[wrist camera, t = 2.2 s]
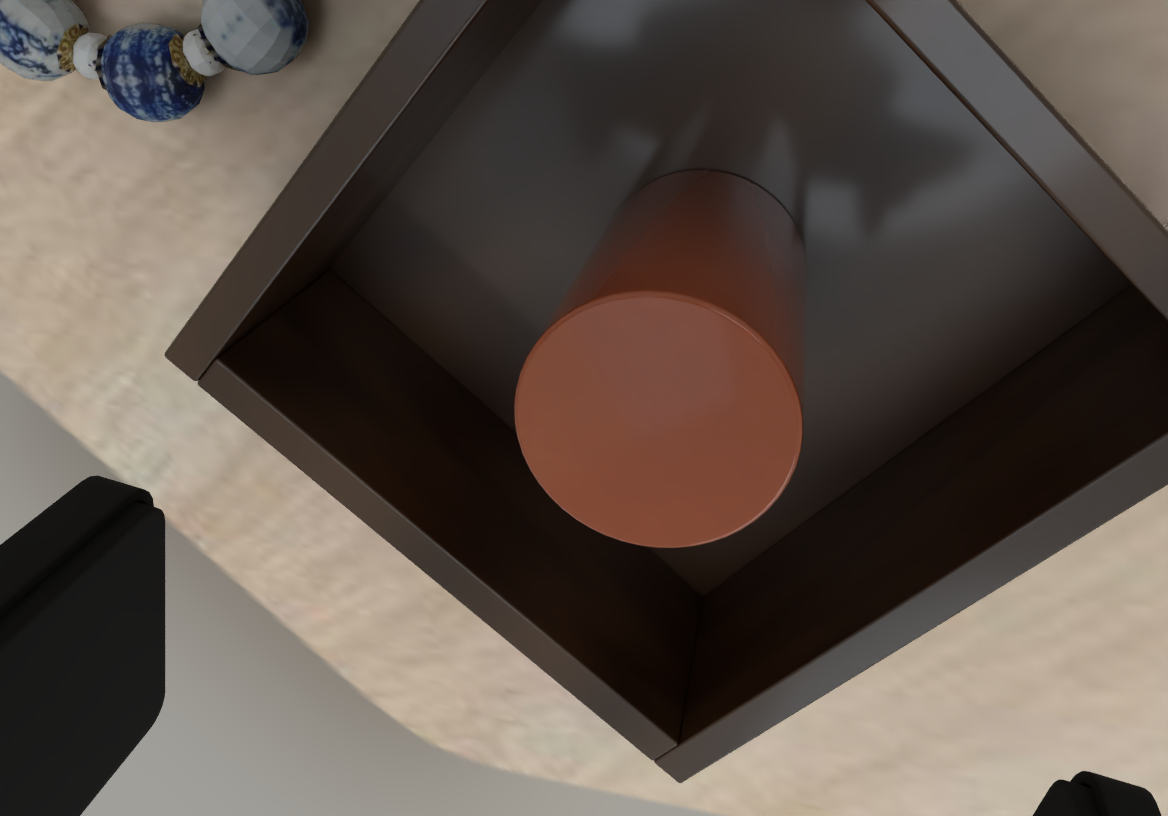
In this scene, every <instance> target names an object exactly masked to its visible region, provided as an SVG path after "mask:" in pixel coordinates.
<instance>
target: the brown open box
mask: <svg viewBox="0 0 1168 816" xmlns="http://www.w3.org/2000/svg"><path fill="white" fill-rule="evenodd" d="M693 170H709V171H718V172H723V173H728V174H731V175H735V176H738V177H741V178H743V179H745V180H747V181H749V182H751V183H754V184H755V185H757V186H758V187H760V188H762V189H763V190H765V191H766V192H767V193H769V194H770V195H771V196H772V197H773V198H774V199H776V200H777V201H778V202H779V203H780V205H781V206H782V207H783V208H784V209H785V210H786V211H787V213H788V214H789V216H790V217H791V219H792V220H793V222H794V223H795V225H796V227H797V229H798V231H799V234H800V236H801V239H802V242H803V245H804V248H805V253H806V259H807V309H806V348H805V386H804V424H803V439H802V448H801V453H800V456H799V460H798V463H797V467H796V469H795V471H794V473H793V475H792V478H791V480H790V482H789V483H788V485H787V487H786V488H785V490H784V491H783V493H782V494H781V496H780V497H779V498H778V499H777V500H776V501H775V503H774V504H773V505H772V506H771V507H770V508H769V509H768V510H767V511H766V512H765V513H763V514H762V515H761V516H760V517H759V518H758V519H757V520H755V521H754V522H752V523H751V524H749V525H748V526H746V527H745V528H743V529H742V530H740V531H737V532H735V533H733V534H731V535H729V536H727V537H725V538H722V539H719V540H716V541H713V542H710V543H706V544H701V545H696V546H690V547H679V548H657V547H649V546H641V545H636V544H632V543H628V542H623V541H620V540H617V539H615V538H612V537H609V536H606V535H604V534H602V533H600V532H598V531H596V530H593V529H591V528H590V527H588V526H586V525H585V524H583V523H581V522H580V521H578V520H576V519H575V518H574V517H572V516H571V515H570V514H569V513H567V512H566V511H565V510H563V509H562V508H561V507H560V506H559V505H558V504H557V503H556V502H555V501H554V500H553V499H552V498H551V497H550V496H549V495H548V494H547V493H546V491H545V490H544V489H543V488H542V486H541V485H540V484H539V483H538V481H537V479H536V478H535V476H534V475H533V473H532V472H531V470H530V468H529V466H528V464H527V462H526V460H525V457H524V455H523V453H522V450H521V447H520V443H519V440H518V437H517V432H516V426H515V419H514V400H515V391H516V385H517V381H518V378H519V374H520V371H521V368H522V366H523V364H524V362H525V359H526V357H527V355H528V354H529V352H530V350H531V349H532V347H533V345H534V344H535V342H536V341H537V339H538V337H539V336H540V334H541V332H542V331H543V329H544V328H545V326H546V324H547V323H548V321H549V320H550V318H551V316H552V315H553V313H554V311H555V310H556V308H557V307H558V305H559V303H560V302H561V300H562V298H563V297H564V295H565V294H566V292H567V290H568V289H569V287H570V286H571V284H572V282H573V281H574V279H575V277H576V276H577V274H578V273H579V271H580V269H581V268H582V266H583V264H584V263H585V261H586V260H587V258H588V256H589V255H590V253H591V252H592V250H593V248H594V247H595V245H596V243H597V242H598V240H599V239H600V237H601V235H602V234H603V232H604V230H605V229H606V227H607V226H608V224H609V222H610V221H611V219H612V218H613V216H614V214H615V213H616V211H617V210H618V209H619V208H620V207H621V205H622V204H623V203H624V202H625V201H626V200H627V199H628V198H629V197H630V196H631V195H633V194H634V193H635V192H636V191H638V190H639V189H641V188H642V187H643V186H645V185H647V184H649V183H651V182H652V181H654V180H656V179H658V178H661V177H664V176H667V175H670V174H674V173H678V172H683V171H693ZM165 357H166V358H167V359H168V360H169V361H171V362H172V363H173V364H174V365H175V366H177V367H178V368H179V369H180V370H182V371H183V372H184V373H185V374H186V375H188V376H189V377H190V378H191V379H192V380H194V381H198V380H199V381H198V385H199V386H200V387H201V388H202V389H204V390H205V391H206V392H207V393H208V394H210V395H211V396H212V397H213V398H215V399H216V400H217V401H218V402H219V403H221V404H222V405H223V406H224V407H225V408H227V409H228V410H229V411H230V412H231V413H233V414H234V415H235V416H236V417H237V418H239V419H240V420H241V421H242V422H244V423H245V424H246V425H247V426H248V427H250V428H251V429H252V430H253V431H254V432H256V433H257V434H258V435H259V436H260V437H262V438H263V439H264V440H265V441H266V442H268V443H269V444H270V445H271V446H273V447H274V448H275V449H276V450H277V451H279V452H280V453H281V454H282V455H283V456H285V457H286V458H287V459H288V460H289V461H291V462H292V463H293V464H294V465H296V466H297V467H298V468H299V469H300V470H302V471H303V472H304V473H305V474H306V475H308V476H309V477H310V478H311V479H312V480H314V481H315V482H316V483H317V484H318V485H320V486H321V487H322V488H323V489H325V490H326V491H327V492H328V493H329V494H331V495H332V496H333V497H334V498H335V499H337V500H338V501H339V502H340V503H341V504H343V505H344V506H345V507H346V508H347V509H349V510H350V511H351V512H352V513H354V514H355V515H356V516H357V517H358V518H360V519H361V520H362V521H363V522H364V523H366V524H367V525H368V526H369V527H370V528H372V529H373V530H374V531H375V532H376V533H378V534H379V535H380V536H381V537H383V538H384V539H385V540H386V541H387V542H389V543H390V544H391V545H392V546H393V547H395V548H396V549H397V550H398V551H399V552H401V553H402V554H403V555H404V556H406V557H407V558H408V559H409V560H410V561H412V562H413V563H414V564H415V565H416V566H418V567H419V568H420V569H421V570H422V571H424V572H425V573H426V574H427V575H428V576H430V577H431V578H432V579H433V580H435V581H436V582H437V583H438V584H439V585H441V586H442V587H443V588H444V589H445V590H447V591H448V592H449V593H450V594H451V595H453V596H454V597H455V598H456V599H457V600H459V601H460V602H461V603H462V604H464V605H465V606H466V607H467V608H468V609H470V610H471V611H472V612H473V613H474V614H476V615H477V616H478V617H479V618H480V619H482V620H483V621H484V622H485V623H486V624H488V625H489V626H490V627H491V628H493V629H494V630H495V631H496V632H497V633H499V634H500V635H501V636H502V637H503V638H505V639H506V640H507V641H508V642H509V643H511V644H512V645H513V646H514V647H516V648H517V649H518V650H519V651H520V652H522V653H523V654H524V655H525V656H526V657H528V658H529V659H530V660H531V661H532V662H534V663H535V664H536V665H537V666H538V667H540V668H541V669H542V670H543V671H545V672H546V673H547V674H548V675H549V676H551V677H552V678H553V679H554V680H555V681H557V682H558V683H559V684H560V685H561V686H563V687H564V688H565V689H566V690H567V691H569V692H570V693H571V694H572V695H574V696H575V697H576V698H577V699H578V700H580V701H581V702H582V703H583V704H584V705H586V706H587V707H588V708H589V709H590V710H592V711H593V712H594V713H595V714H596V715H598V716H599V717H600V718H601V719H603V720H604V721H605V722H606V723H607V724H609V725H610V726H611V727H612V728H613V729H615V730H616V731H617V732H618V733H619V734H621V735H622V736H623V737H624V738H625V739H627V740H628V741H629V742H630V743H632V744H633V745H634V746H635V747H636V748H638V749H639V750H640V751H641V752H642V753H644V754H645V755H646V756H647V757H648V758H650V759H651V760H654V762H655V763H656V764H657V765H658V766H659V767H660V768H662V769H663V770H664V771H665V772H666V773H668V774H669V775H670V776H671V777H673V778H674V779H675V780H676V781H677V782H679V783H682V782H683V781H685V780H687V779H688V778H690V777H692V776H693V775H695V774H696V773H698V772H700V771H701V770H703V769H705V768H706V767H708V766H709V765H711V764H713V763H714V762H716V761H718V760H719V759H721V758H723V757H724V756H726V755H727V754H729V753H731V752H732V751H734V750H736V749H737V748H739V747H740V746H742V745H744V744H745V743H747V742H749V741H750V740H752V739H753V738H755V737H757V736H758V735H760V734H762V733H763V732H765V731H767V730H768V729H770V728H771V727H773V726H775V725H776V724H778V723H780V722H781V721H783V720H784V719H786V718H788V717H789V716H791V715H793V714H794V713H796V712H798V711H799V710H801V709H802V708H804V707H806V706H807V705H809V704H811V703H812V702H814V701H815V700H817V699H819V698H820V697H822V696H824V695H825V694H827V693H829V692H830V691H832V690H833V689H835V688H837V687H838V686H840V685H842V684H843V683H845V682H846V681H848V680H850V679H851V678H853V677H855V676H856V675H858V674H859V673H861V672H863V671H864V670H866V669H868V668H869V667H871V666H873V665H874V664H876V663H877V662H879V661H881V660H882V659H884V658H886V657H887V656H889V655H890V654H892V653H894V652H895V651H897V650H899V649H900V648H902V647H904V646H905V645H907V644H908V643H910V642H912V641H913V640H915V639H917V638H918V637H920V636H921V635H923V634H925V633H926V632H928V631H930V630H931V629H933V628H934V627H936V626H938V625H939V624H941V623H943V622H944V621H946V620H948V619H949V618H951V617H952V616H954V615H956V614H957V613H959V612H961V611H962V610H964V609H965V608H967V607H969V606H970V605H972V604H974V603H975V602H977V601H979V600H980V599H982V598H983V597H985V596H987V595H988V594H990V593H992V592H993V591H995V590H996V589H998V588H1000V587H1001V586H1003V585H1005V584H1006V583H1008V582H1010V581H1011V580H1013V579H1014V578H1016V577H1018V576H1019V575H1021V574H1023V573H1024V572H1026V571H1027V570H1029V569H1031V568H1032V567H1034V566H1036V565H1037V564H1039V563H1040V562H1042V561H1044V560H1045V559H1047V558H1049V557H1050V556H1052V555H1054V554H1055V553H1057V552H1058V551H1060V550H1062V549H1063V548H1065V547H1067V546H1068V545H1070V544H1071V543H1073V542H1075V541H1076V540H1078V539H1080V538H1081V537H1083V536H1085V535H1086V534H1088V533H1089V532H1091V531H1093V530H1094V529H1096V528H1098V527H1099V526H1101V525H1102V524H1104V523H1106V522H1107V521H1109V520H1111V519H1112V518H1114V517H1115V516H1117V515H1119V514H1120V513H1122V512H1124V511H1125V510H1127V509H1129V508H1130V507H1132V506H1133V505H1135V504H1137V503H1138V502H1140V501H1142V500H1143V499H1145V498H1146V497H1148V496H1150V495H1151V494H1153V493H1155V492H1156V491H1158V490H1160V489H1161V488H1163V487H1164V486H1166V485H1168V231H1167V230H1166V229H1165V228H1164V226H1163V225H1162V224H1161V223H1160V222H1159V221H1158V220H1157V219H1156V218H1155V217H1154V216H1153V214H1152V213H1151V212H1150V211H1149V210H1148V209H1147V208H1146V207H1145V206H1144V205H1143V204H1142V202H1141V201H1140V200H1139V199H1138V198H1137V197H1136V196H1135V195H1134V194H1133V193H1132V192H1131V191H1130V189H1129V188H1128V187H1127V186H1126V185H1125V184H1124V183H1123V182H1122V181H1121V180H1120V179H1119V177H1118V176H1117V175H1116V174H1115V173H1114V172H1113V171H1112V170H1111V169H1110V168H1109V167H1108V165H1107V164H1106V163H1105V162H1104V161H1103V160H1102V159H1101V158H1100V157H1099V156H1098V155H1097V153H1096V152H1095V151H1094V150H1093V149H1092V148H1091V147H1090V146H1089V145H1088V144H1087V143H1086V142H1085V140H1084V139H1083V138H1082V137H1081V136H1080V135H1079V134H1078V133H1077V132H1076V131H1075V130H1074V128H1073V127H1072V126H1071V125H1070V124H1069V123H1068V122H1067V121H1066V120H1065V119H1064V118H1063V116H1062V115H1061V114H1060V113H1059V112H1058V111H1057V110H1056V109H1055V108H1054V107H1053V106H1052V104H1051V103H1050V102H1049V101H1048V100H1047V99H1046V98H1045V97H1044V96H1043V95H1042V94H1041V93H1040V91H1039V90H1038V89H1037V88H1036V87H1035V86H1034V85H1033V84H1032V83H1031V82H1030V81H1029V79H1028V78H1027V77H1026V76H1025V75H1024V74H1023V73H1022V72H1021V71H1020V70H1019V69H1018V67H1017V66H1016V65H1015V64H1014V63H1013V62H1012V61H1011V60H1010V59H1009V58H1008V57H1007V55H1006V54H1005V53H1004V52H1003V51H1002V50H1001V49H1000V48H999V47H998V46H997V45H996V44H995V42H994V41H993V40H992V39H991V38H990V37H989V36H988V35H987V34H986V33H985V32H984V30H983V29H982V28H981V27H980V26H979V25H978V24H977V23H976V22H975V21H974V20H973V18H972V17H971V16H970V15H969V14H968V13H967V12H966V11H965V10H964V9H963V8H962V6H961V5H960V4H959V3H958V2H957V1H956V0H420V1H419V2H418V3H417V5H416V6H415V8H414V9H413V10H412V12H411V13H410V15H409V16H408V17H407V19H406V20H405V21H404V23H403V24H402V26H401V27H400V28H399V30H398V31H397V33H396V34H395V35H394V37H393V38H392V39H391V41H390V42H389V44H388V45H387V46H386V48H385V49H384V50H383V52H382V53H381V55H380V56H379V57H378V59H377V60H376V62H375V63H374V64H373V66H372V67H371V68H370V70H369V71H368V73H367V74H366V75H365V77H364V78H363V80H362V81H361V82H360V84H359V85H358V86H357V88H356V89H355V91H354V92H353V93H352V95H351V96H350V98H349V99H348V100H347V102H346V103H345V104H344V106H343V107H342V109H341V110H340V111H339V113H338V114H337V115H336V117H335V118H334V120H333V121H332V122H331V124H330V125H329V127H328V128H327V129H326V131H325V132H324V133H323V135H322V136H321V138H320V139H319V140H318V142H317V143H316V145H315V146H314V147H313V149H312V150H311V151H310V153H309V154H308V156H307V157H306V158H305V160H304V161H303V163H302V164H301V165H300V167H299V168H298V169H297V171H296V172H295V174H294V175H293V176H292V178H291V179H290V180H289V182H288V183H287V185H286V186H285V187H284V189H283V190H282V192H281V193H280V194H279V196H278V197H277V198H276V200H275V201H274V203H273V204H272V205H271V207H270V208H269V210H268V211H267V212H266V214H265V215H264V216H263V218H262V219H261V221H260V222H259V223H258V225H257V226H256V228H255V229H254V230H253V232H252V233H251V234H250V236H249V237H248V239H247V240H246V241H245V243H244V244H243V245H242V247H241V248H240V250H239V251H238V252H237V254H236V255H235V257H234V258H233V259H232V261H231V262H230V263H229V265H228V266H227V268H226V269H225V270H224V272H223V273H222V275H221V276H220V277H219V279H218V280H217V281H216V283H215V284H214V286H213V287H212V288H211V290H210V291H209V293H208V294H207V295H206V297H205V298H204V299H203V301H202V302H201V304H200V305H199V306H198V308H197V309H196V310H195V312H194V313H193V315H192V316H191V317H190V319H189V320H188V322H187V323H186V324H185V326H184V327H183V328H182V330H181V331H180V333H179V334H178V335H177V337H176V338H175V340H174V341H173V342H172V344H171V345H170V346H169V348H168V349H167V351H166V352H165Z"/></svg>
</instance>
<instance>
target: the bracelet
mask: <svg viewBox="0 0 1168 816" xmlns="http://www.w3.org/2000/svg"><path fill="white" fill-rule="evenodd" d="M307 30H308V20H307V17H306V13H305V9H304V5H303V4H302V2H301V0H204V1H203V7H202V16H201V24H200V26H199V28H198V29H196V30H193V31H191V32H189V33H188V34H187V35H186V36H184V35H183V34H181V33H180V32H178V31H176V30H175V29H173V28H172V27H168V26H162V25H157V24H150V23H140V24H135V25H131V26H127V27H125V28H123V29H122V30H120V31H118V32H117V33H115V34H114V35H113V36H112V35H109V36H108V37H105V36H104V35H102V34H99V33H89V26H88V22H87V20H86V18H85V16H84V14H83V12H82V11H81V10H80V9H79V8H78V7H77V6H76V5H75V3H74V2H73V1H72V0H0V63H1V64H2V65H4V66H5V67H6V68H8V69H9V70H11V71H13V72H15V73H16V74H18V75H20V76H22V77H23V78H27V79H33V80H39V81H53V80H55V79H57V78H60V77H62V76H65V75H67V74H69V73H72V72H73V71H74V70H75V69H77V71H78V72H79V73H80V74H82V75H83V76H85V77H86V78H88V79H99V80H100V83H101V85H102V88H103V89H106V90H107V91H108V94H109V96H110V98H111V99H112V100H113V102H114V103H115V104H116V105H117V107H118V108H120V109H121V110H123V111H125V112H126V113H128V114H130V115H131V116H133V117H135V118H137V119H140V120H145V121H150V122H166V121H171V120H176V119H181V118H182V117H183V116H184V115H186V114H187V113H188V112H190V111H191V110H192V109H193V108H195V107H196V106H197V105H198V104H199V103H200V100H201V98H202V95H203V92H204V89H205V85H204V79H205V78H206V76H212V75H215V74H217V73H220V72H222V71H223V70H224V69H225V68H226V67H227V68H231V69H234V70H238V71H243V72H245V73H248V74H251V75H259V74H267V73H273V72H278V71H279V70H281V69H282V68H283V67H285V66H286V65H287V64H289V63H290V62H292V61H293V60H294V59H295V58H296V57H297V56H298V54H299V53H300V51H301V49H302V47H303V46H304V44H305V42H306V38H307Z"/></svg>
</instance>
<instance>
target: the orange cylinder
mask: <svg viewBox="0 0 1168 816" xmlns="http://www.w3.org/2000/svg"><path fill="white" fill-rule="evenodd" d="M806 309H807V259H806V253H805V248H804V245H803V242H802V239H801V236H800V234H799V231H798V229H797V227H796V225H795V223H794V222H793V220H792V219H791V217H790V216H789V214H788V213H787V211H786V210H785V209H784V208H783V207H782V206H781V205H780V203H779V202H778V201H777V200H776V199H774V198H773V197H772V196H771V195H770V194H769V193H767V192H766V191H765V190H763V189H762V188H760V187H758V186H757V185H755V184H754V183H751V182H749V181H747V180H745V179H743V178H741V177H738V176H735V175H731V174H728V173H723V172H718V171H709V170H693V171H683V172H678V173H674V174H670V175H667V176H664V177H661V178H658V179H656V180H654V181H652V182H651V183H649V184H647V185H645V186H643V187H642V188H641V189H639V190H638V191H636V192H635V193H634V194H633V195H631V196H630V197H629V198H628V199H627V200H626V201H625V202H624V203H623V204H622V205H621V207H620V208H619V209H618V210H617V211H616V213H615V214H614V216H613V218H612V219H611V221H610V222H609V224H608V226H607V227H606V229H605V230H604V232H603V234H602V235H601V237H600V239H599V240H598V242H597V243H596V245H595V247H594V248H593V250H592V252H591V253H590V255H589V256H588V258H587V260H586V261H585V263H584V264H583V266H582V268H581V269H580V271H579V273H578V274H577V276H576V277H575V279H574V281H573V282H572V284H571V286H570V287H569V289H568V290H567V292H566V294H565V295H564V297H563V298H562V300H561V302H560V303H559V305H558V307H557V308H556V310H555V311H554V313H553V315H552V316H551V318H550V320H549V321H548V323H547V324H546V326H545V328H544V329H543V331H542V332H541V334H540V336H539V337H538V339H537V341H536V342H535V344H534V345H533V347H532V349H531V350H530V352H529V354H528V355H527V357H526V359H525V362H524V364H523V366H522V368H521V371H520V374H519V378H518V381H517V385H516V391H515V400H514V419H515V426H516V432H517V437H518V440H519V443H520V447H521V450H522V453H523V455H524V457H525V460H526V462H527V464H528V466H529V468H530V470H531V472H532V473H533V475H534V476H535V478H536V479H537V481H538V483H539V484H540V485H541V486H542V488H543V489H544V490H545V491H546V493H547V494H548V495H549V496H550V497H551V498H552V499H553V500H554V501H555V502H556V503H557V504H558V505H559V506H560V507H561V508H562V509H563V510H565V511H566V512H567V513H569V514H570V515H571V516H572V517H574V518H575V519H576V520H578V521H580V522H581V523H583V524H585V525H586V526H588V527H590V528H591V529H593V530H596V531H598V532H600V533H602V534H604V535H606V536H609V537H612V538H615V539H617V540H620V541H623V542H628V543H632V544H636V545H641V546H649V547H657V548H679V547H690V546H696V545H701V544H706V543H710V542H713V541H716V540H719V539H722V538H725V537H727V536H729V535H731V534H733V533H735V532H737V531H740V530H742V529H743V528H745V527H746V526H748V525H749V524H751V523H752V522H754V521H755V520H757V519H758V518H759V517H760V516H761V515H762V514H763V513H765V512H766V511H767V510H768V509H769V508H770V507H771V506H772V505H773V504H774V503H775V501H776V500H777V499H778V498H779V497H780V496H781V494H782V493H783V491H784V490H785V488H786V487H787V485H788V483H789V482H790V480H791V478H792V475H793V473H794V471H795V469H796V467H797V463H798V460H799V456H800V453H801V448H802V439H803V424H804V386H805V348H806Z"/></svg>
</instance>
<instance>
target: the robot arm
mask: <svg viewBox="0 0 1168 816" xmlns="http://www.w3.org/2000/svg"><path fill="white" fill-rule="evenodd" d="M164 697H165V517H164V513H163V511H162V510H160V509H158V508H155V507H154V504H153V498H152V496H151V494H150V493H149V492H148V491H146V490H144V489H141V488H137V487H134V486H131V485H127V484H124V483H121V482H117V481H114V480H110V479H107V478H104V477H100V476H90V477H88V478H87V479H85V480H83V481H82V482H80V483H79V484H78V485H76V486H75V487H74V488H73V489H72V490H70V491H69V492H67V493H66V494H65V495H64V496H62V497H61V498H60V499H59V500H57V501H56V502H55V503H53V504H52V505H51V506H50V507H48V508H47V509H46V510H44V511H43V512H42V513H41V514H40V515H38V516H37V517H36V518H34V519H33V520H32V521H30V522H29V523H28V524H27V525H25V526H24V527H23V528H22V529H20V530H19V531H18V532H16V533H15V534H14V535H13V536H11V537H10V538H9V539H8V540H6V541H5V542H4V543H3V544H1V545H0V816H80V815H81V814H82V812H83V811H84V810H85V809H86V807H87V806H88V805H89V804H90V803H91V801H92V800H93V799H94V798H95V796H96V795H97V794H98V793H99V791H100V790H101V789H102V788H103V787H104V785H105V784H106V783H107V781H108V780H109V779H110V778H111V777H112V775H113V774H114V773H115V772H116V770H117V769H118V768H119V766H120V765H121V764H122V763H123V762H124V761H125V759H126V758H127V757H128V756H129V754H130V753H131V752H132V751H133V749H134V748H135V747H136V746H137V744H138V743H139V742H140V741H141V739H142V738H143V737H144V736H145V734H146V733H147V732H148V731H149V729H150V728H151V727H152V725H153V724H154V722H155V721H156V719H157V717H158V715H159V713H160V710H161V708H162V705H163V701H164ZM1033 816H1161V813H1160V811H1159V808H1158V806H1157V803H1156V801H1155V799H1154V798H1153V796H1152V794H1151V793H1150V792H1149V791H1147V790H1146V789H1145V788H1142V787H1139V786H1135V785H1132V784H1129V783H1125V782H1122V781H1119V780H1115V779H1112V778H1109V777H1105V776H1102V775H1098V774H1095V773H1092V772H1087V771H1082V772H1080V773H1078V774H1076V775H1075V776H1074V777H1073V779H1072V780H1071V781H1070V782H1069V781H1065V780H1058V781H1056V782H1054V783H1053V785H1052V786H1051V787H1050V789H1049V790H1048V792H1047V793H1046V795H1045V797H1044V798H1043V800H1042V802H1041V803H1040V805H1039V806H1038V808H1037V810H1036V811H1035V813H1034V814H1033Z"/></svg>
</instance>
